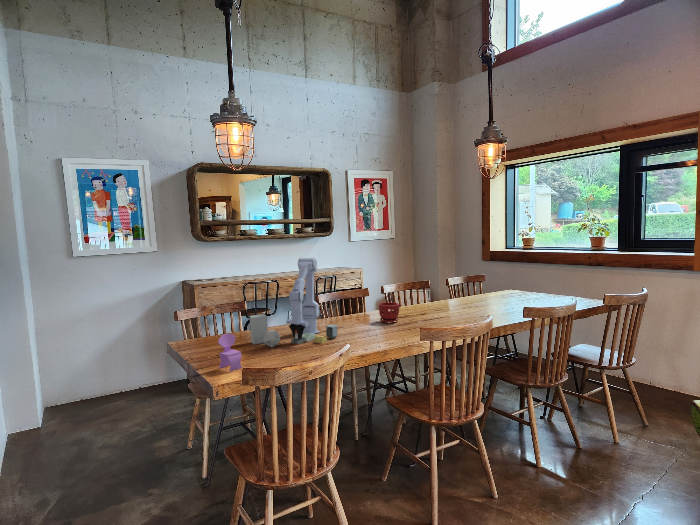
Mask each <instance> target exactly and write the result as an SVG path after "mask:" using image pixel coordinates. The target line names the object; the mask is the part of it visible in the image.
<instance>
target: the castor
mask: <svg viewBox="0 0 700 525" xmlns="http://www.w3.org/2000/svg"><path fill="white" fill-rule="evenodd" d="M325 330H326V331H325V335H326V337H327V338H328V339H334V340H335V339H336V338H337V336H338V325H337V324H328V325H325Z"/></svg>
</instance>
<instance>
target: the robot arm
mask: <svg viewBox="0 0 700 525" xmlns="http://www.w3.org/2000/svg"><path fill="white" fill-rule="evenodd" d="M297 267H298V270H299V271H298V275H297V279H295V280H294V283H293V287H292V290H291V291H289V293H288V301H289V305H290V310H291V311H290V312H291V318H289V319H286V322H285V324H289V325H288V328H289V329H290V331H291V333H292V336H293V338H295V330H297V333H298V339H301V338H302V334H305V333H309V334H315V335H316V334H317V333H321V331H320V330H318V323H317V319H318V317H319V316H320V305H319V303H318V302H316V301H315V273H316V272H317V270H318V261H317V259H316V258H315V257H299V258H298V260H297ZM304 290H305V292H304ZM304 294H305V301H304V302H303V300H304Z"/></svg>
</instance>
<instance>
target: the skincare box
mask: <svg viewBox="0 0 700 525" xmlns="http://www.w3.org/2000/svg"><path fill="white" fill-rule="evenodd" d="M249 325H250V326H249V327H250V328H249V329H250V341H251V343H252V344H253V345H259V344H265V343H264V342H263V336H264V335H265V333H266V332H267V331H269V330H268V316H267V315H266V314H265V313H261V314H255V315H254V314H253V315H249Z"/></svg>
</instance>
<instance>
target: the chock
mask: <svg viewBox="0 0 700 525" xmlns="http://www.w3.org/2000/svg"><path fill="white" fill-rule="evenodd" d="M327 338H328V337H327ZM327 338H326V337H325V336H324V335H318V334H316V336H315V340H314V342H315V343H318V344H326V343H328V339H327Z"/></svg>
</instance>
